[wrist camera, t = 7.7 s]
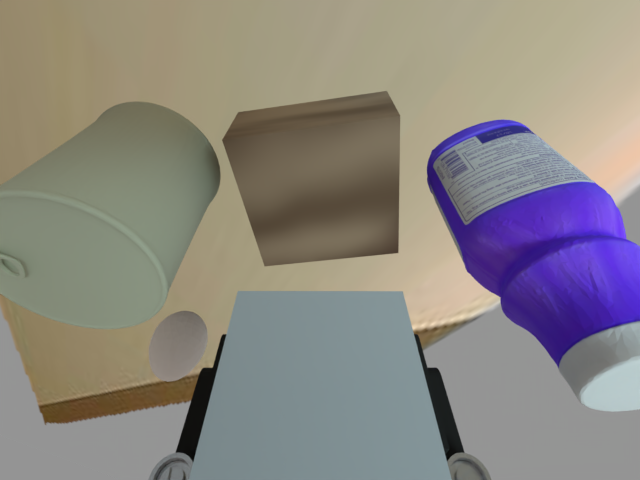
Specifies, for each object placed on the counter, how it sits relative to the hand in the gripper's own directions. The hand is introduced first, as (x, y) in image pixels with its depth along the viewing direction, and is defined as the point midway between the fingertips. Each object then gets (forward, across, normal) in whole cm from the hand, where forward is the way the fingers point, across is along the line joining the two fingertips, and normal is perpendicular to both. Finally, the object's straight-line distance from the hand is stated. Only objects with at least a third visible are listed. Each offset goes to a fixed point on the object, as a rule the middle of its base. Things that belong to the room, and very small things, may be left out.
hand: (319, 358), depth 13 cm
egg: (+16, +14, +17) cm, 27 cm away
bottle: (+16, -11, -1) cm, 19 cm away
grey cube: (+1, 0, 0) cm, 1 cm away
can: (+16, +12, -1) cm, 20 cm away
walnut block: (+16, 0, 0) cm, 16 cm away
